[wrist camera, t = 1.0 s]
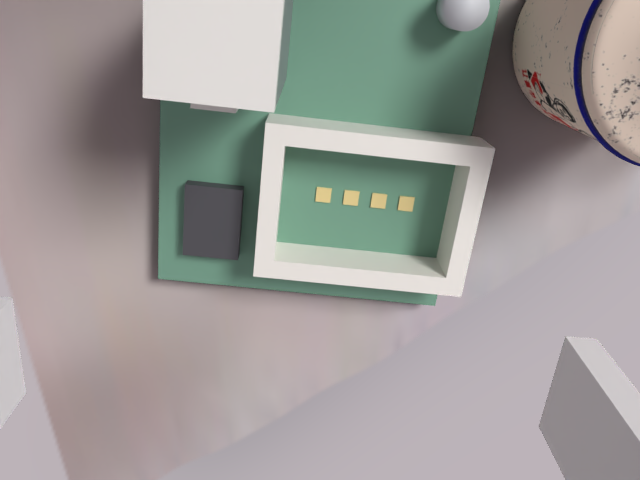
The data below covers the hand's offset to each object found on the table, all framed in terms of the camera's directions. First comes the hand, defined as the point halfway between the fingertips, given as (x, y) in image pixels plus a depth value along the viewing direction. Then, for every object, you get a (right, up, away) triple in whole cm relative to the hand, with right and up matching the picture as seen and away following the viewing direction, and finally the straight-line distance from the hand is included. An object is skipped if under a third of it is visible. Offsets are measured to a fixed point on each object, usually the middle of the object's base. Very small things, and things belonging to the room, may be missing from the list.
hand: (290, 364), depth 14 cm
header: (+3, +5, +17) cm, 18 cm away
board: (+1, +9, +17) cm, 19 cm away
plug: (-3, +13, +14) cm, 19 cm away
